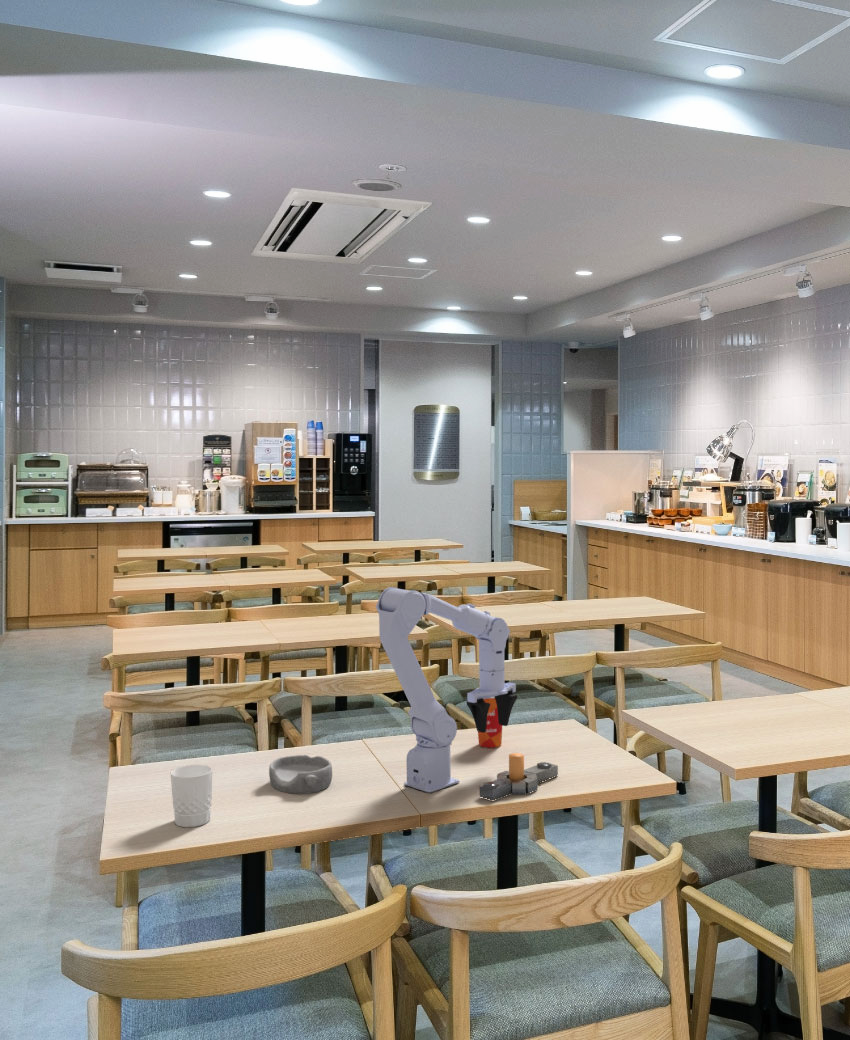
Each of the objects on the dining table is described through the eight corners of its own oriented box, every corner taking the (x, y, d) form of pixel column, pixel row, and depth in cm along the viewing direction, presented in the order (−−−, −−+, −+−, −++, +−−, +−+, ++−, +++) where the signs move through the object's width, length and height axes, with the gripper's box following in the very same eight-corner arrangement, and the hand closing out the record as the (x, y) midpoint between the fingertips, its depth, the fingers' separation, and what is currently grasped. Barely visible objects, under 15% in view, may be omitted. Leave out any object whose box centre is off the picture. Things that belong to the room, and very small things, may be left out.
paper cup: (468, 744, 227) (467, 689, 226) (489, 738, 232) (489, 684, 231) (491, 751, 221) (490, 694, 220) (512, 745, 226) (511, 689, 226)
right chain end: (519, 797, 189) (519, 783, 189) (489, 788, 195) (489, 775, 195) (566, 778, 200) (566, 765, 200) (536, 770, 206) (536, 758, 206)
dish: (321, 798, 191) (321, 774, 190) (259, 794, 193) (258, 771, 193) (341, 776, 205) (341, 754, 205) (283, 772, 208) (282, 751, 207)
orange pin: (517, 791, 192) (516, 758, 192) (506, 787, 195) (505, 755, 195) (527, 787, 195) (527, 755, 194) (516, 784, 197) (516, 752, 197)
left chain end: (501, 804, 185) (501, 790, 185) (470, 794, 191) (470, 781, 190) (544, 787, 195) (544, 774, 195) (514, 778, 201) (514, 766, 200)
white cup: (218, 813, 182) (216, 764, 181) (207, 828, 174) (205, 777, 173) (179, 813, 182) (177, 764, 182) (166, 828, 174) (165, 777, 174)
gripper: (483, 676, 198) (484, 738, 199) (525, 666, 209) (526, 725, 209) (460, 672, 203) (460, 732, 204) (502, 662, 214) (502, 719, 214)
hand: (492, 728), depth 207 cm, fingers open, 7 cm apart
